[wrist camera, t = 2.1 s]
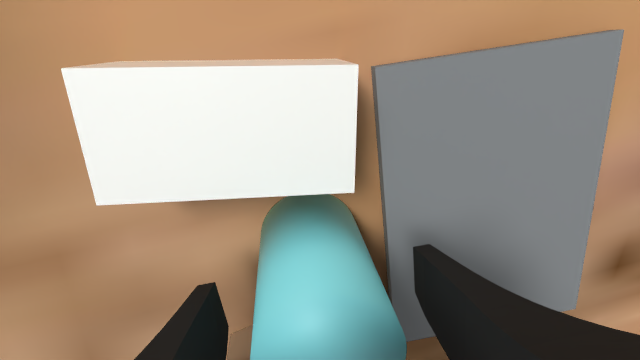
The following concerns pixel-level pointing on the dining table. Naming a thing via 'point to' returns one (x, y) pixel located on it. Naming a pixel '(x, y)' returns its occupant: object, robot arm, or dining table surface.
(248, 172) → the offwhite brick
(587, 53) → the mat
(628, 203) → the dining table surface
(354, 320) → the teal capsule
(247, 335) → the walnut cube
